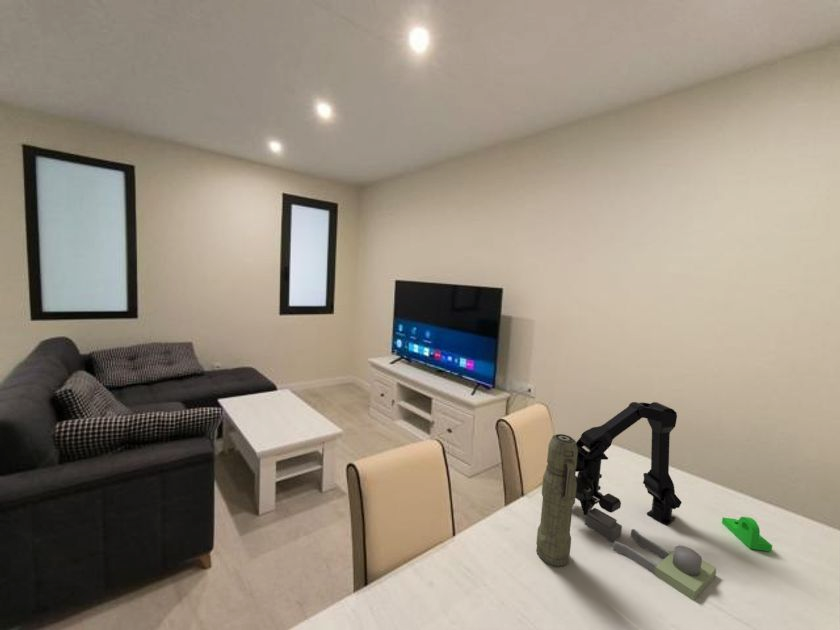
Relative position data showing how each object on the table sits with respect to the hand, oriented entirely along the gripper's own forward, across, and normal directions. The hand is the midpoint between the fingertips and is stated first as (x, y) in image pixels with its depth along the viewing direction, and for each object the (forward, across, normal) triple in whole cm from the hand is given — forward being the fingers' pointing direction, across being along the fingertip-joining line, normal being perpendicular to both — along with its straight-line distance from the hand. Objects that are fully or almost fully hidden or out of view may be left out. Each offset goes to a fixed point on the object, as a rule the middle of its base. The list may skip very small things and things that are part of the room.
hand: (585, 515), depth 118 cm
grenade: (+2, +5, -24) cm, 25 cm away
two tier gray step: (+2, +6, -1) cm, 6 cm away
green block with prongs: (+2, +28, 0) cm, 28 cm away
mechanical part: (+2, +31, +40) cm, 51 cm away
